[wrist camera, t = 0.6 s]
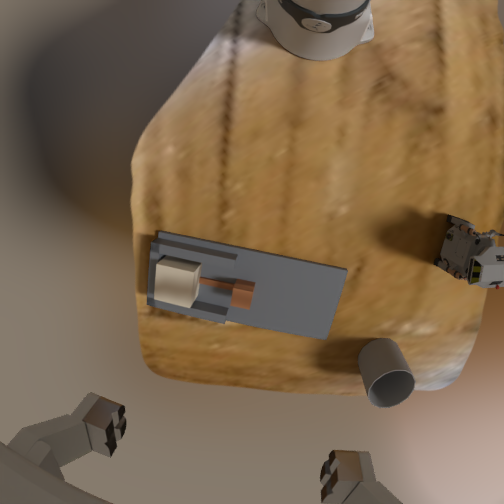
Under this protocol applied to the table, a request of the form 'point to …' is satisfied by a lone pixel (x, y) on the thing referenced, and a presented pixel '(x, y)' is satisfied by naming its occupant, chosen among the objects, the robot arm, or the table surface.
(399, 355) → the cup
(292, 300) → the grey slider tray
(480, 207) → the table surface
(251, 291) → the block
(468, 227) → the figurine
